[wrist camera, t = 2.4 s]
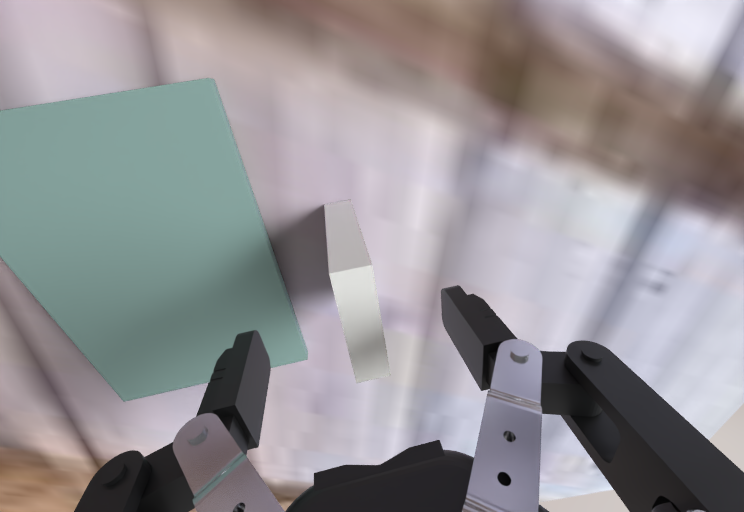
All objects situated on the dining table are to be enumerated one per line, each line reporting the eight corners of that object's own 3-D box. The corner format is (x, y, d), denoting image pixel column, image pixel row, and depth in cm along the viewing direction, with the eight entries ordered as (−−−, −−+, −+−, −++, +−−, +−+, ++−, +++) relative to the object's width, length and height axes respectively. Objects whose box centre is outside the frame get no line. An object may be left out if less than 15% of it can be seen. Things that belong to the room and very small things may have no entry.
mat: (-88, 126, 13) (-110, 127, 13) (213, 79, 14) (208, 77, 14) (129, 391, 22) (123, 401, 21) (307, 351, 23) (307, 359, 22)
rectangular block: (324, 204, 18) (328, 273, 11) (350, 199, 18) (372, 264, 11) (343, 287, 21) (356, 383, 14) (366, 282, 21) (390, 375, 14)
